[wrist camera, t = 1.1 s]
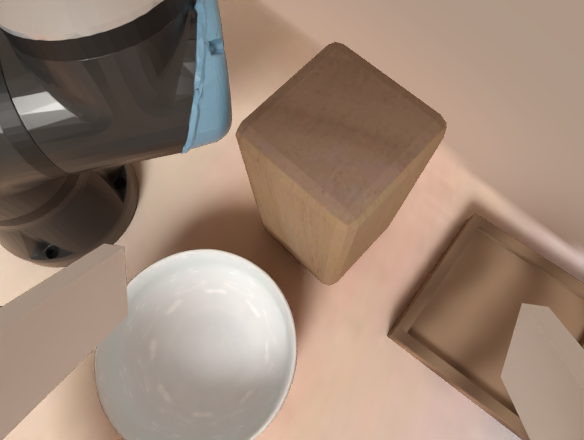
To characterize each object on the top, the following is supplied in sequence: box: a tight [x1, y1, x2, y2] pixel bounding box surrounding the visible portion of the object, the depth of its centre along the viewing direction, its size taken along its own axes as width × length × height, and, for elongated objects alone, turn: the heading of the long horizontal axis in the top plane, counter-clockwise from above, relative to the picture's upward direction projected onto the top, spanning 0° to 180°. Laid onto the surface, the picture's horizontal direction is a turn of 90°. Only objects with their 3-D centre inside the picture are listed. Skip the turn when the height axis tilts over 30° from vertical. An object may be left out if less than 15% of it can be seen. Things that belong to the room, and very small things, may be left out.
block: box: [236, 42, 446, 285], centre depth 35 cm, size 10×10×20 cm
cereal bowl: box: [94, 249, 297, 440], centre depth 37 cm, size 17×17×7 cm
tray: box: [387, 213, 584, 440], centre depth 39 cm, size 15×15×2 cm
